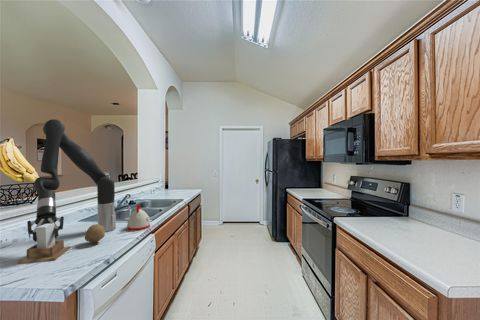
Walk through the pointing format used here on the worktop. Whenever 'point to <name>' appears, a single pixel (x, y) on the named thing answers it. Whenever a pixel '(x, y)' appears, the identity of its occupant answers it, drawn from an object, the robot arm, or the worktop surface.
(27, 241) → the worktop surface
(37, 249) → the socket
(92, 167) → the robot arm
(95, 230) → the natural sponge
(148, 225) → the kitchen timer
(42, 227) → the skincare box
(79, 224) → the worktop surface
